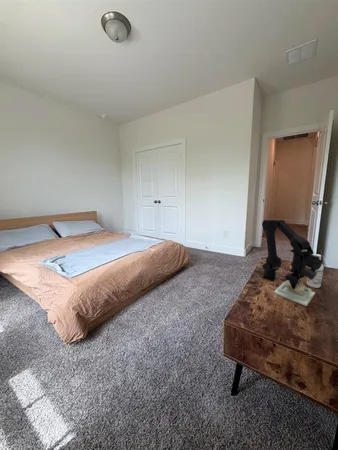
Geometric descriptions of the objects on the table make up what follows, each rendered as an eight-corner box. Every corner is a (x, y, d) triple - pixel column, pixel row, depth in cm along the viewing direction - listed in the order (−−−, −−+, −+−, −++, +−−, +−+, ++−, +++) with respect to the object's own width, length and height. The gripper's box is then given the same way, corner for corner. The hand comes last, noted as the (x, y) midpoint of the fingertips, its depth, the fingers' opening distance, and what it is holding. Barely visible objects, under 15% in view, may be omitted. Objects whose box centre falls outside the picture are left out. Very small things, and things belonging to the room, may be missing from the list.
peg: (285, 287, 111) (286, 280, 110) (289, 285, 113) (290, 279, 112) (299, 293, 104) (301, 287, 103) (304, 292, 106) (305, 285, 105)
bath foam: (322, 286, 116) (328, 255, 111) (316, 289, 113) (321, 258, 108) (310, 281, 122) (315, 252, 117) (304, 283, 119) (308, 254, 114)
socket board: (273, 293, 110) (274, 288, 109) (283, 283, 120) (284, 279, 119) (306, 306, 98) (307, 301, 97) (314, 294, 108) (315, 289, 107)
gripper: (311, 272, 93) (307, 300, 96) (320, 261, 105) (316, 286, 108) (286, 265, 101) (282, 291, 104) (297, 255, 113) (294, 279, 116)
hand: (294, 287), depth 108 cm, fingers closed on peg, 4 cm apart
